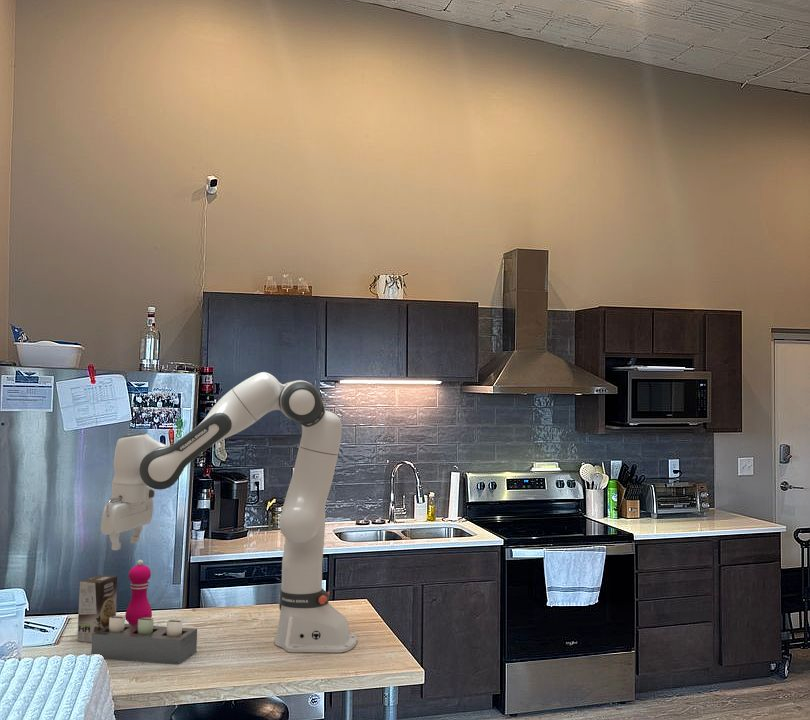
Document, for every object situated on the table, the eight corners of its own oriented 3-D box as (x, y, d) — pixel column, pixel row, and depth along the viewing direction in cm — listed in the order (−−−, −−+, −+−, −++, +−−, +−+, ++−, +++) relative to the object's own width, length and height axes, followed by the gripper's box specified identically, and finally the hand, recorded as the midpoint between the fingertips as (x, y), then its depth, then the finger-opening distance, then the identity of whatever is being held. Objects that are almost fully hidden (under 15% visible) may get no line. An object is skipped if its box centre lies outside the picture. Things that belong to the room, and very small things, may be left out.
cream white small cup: (184, 637, 206) (184, 619, 206) (177, 641, 202) (178, 623, 202) (170, 636, 206) (171, 618, 206) (163, 641, 203) (164, 622, 203)
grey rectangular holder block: (196, 651, 208) (197, 628, 208) (179, 664, 198) (180, 640, 199) (112, 645, 212) (112, 623, 212) (91, 657, 202) (92, 633, 203)
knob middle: (155, 635, 207) (156, 617, 207) (148, 639, 203) (148, 621, 203) (141, 634, 208) (142, 616, 208) (134, 638, 204) (135, 620, 204)
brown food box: (97, 643, 214) (99, 582, 215) (76, 641, 216) (78, 581, 216) (116, 633, 223) (118, 575, 224) (95, 631, 225) (97, 573, 225)
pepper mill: (146, 634, 222) (148, 562, 223) (120, 634, 222) (123, 562, 223) (155, 627, 229) (157, 557, 230) (130, 626, 230) (132, 556, 231)
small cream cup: (127, 633, 208) (127, 615, 209) (119, 637, 205) (120, 619, 205) (113, 632, 209) (114, 614, 209) (105, 636, 205) (106, 618, 205)
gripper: (119, 500, 200) (115, 555, 199) (158, 490, 220) (155, 540, 219) (96, 498, 201) (92, 552, 200) (137, 488, 221) (134, 538, 221)
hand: (125, 546), depth 210 cm, fingers open, 8 cm apart
